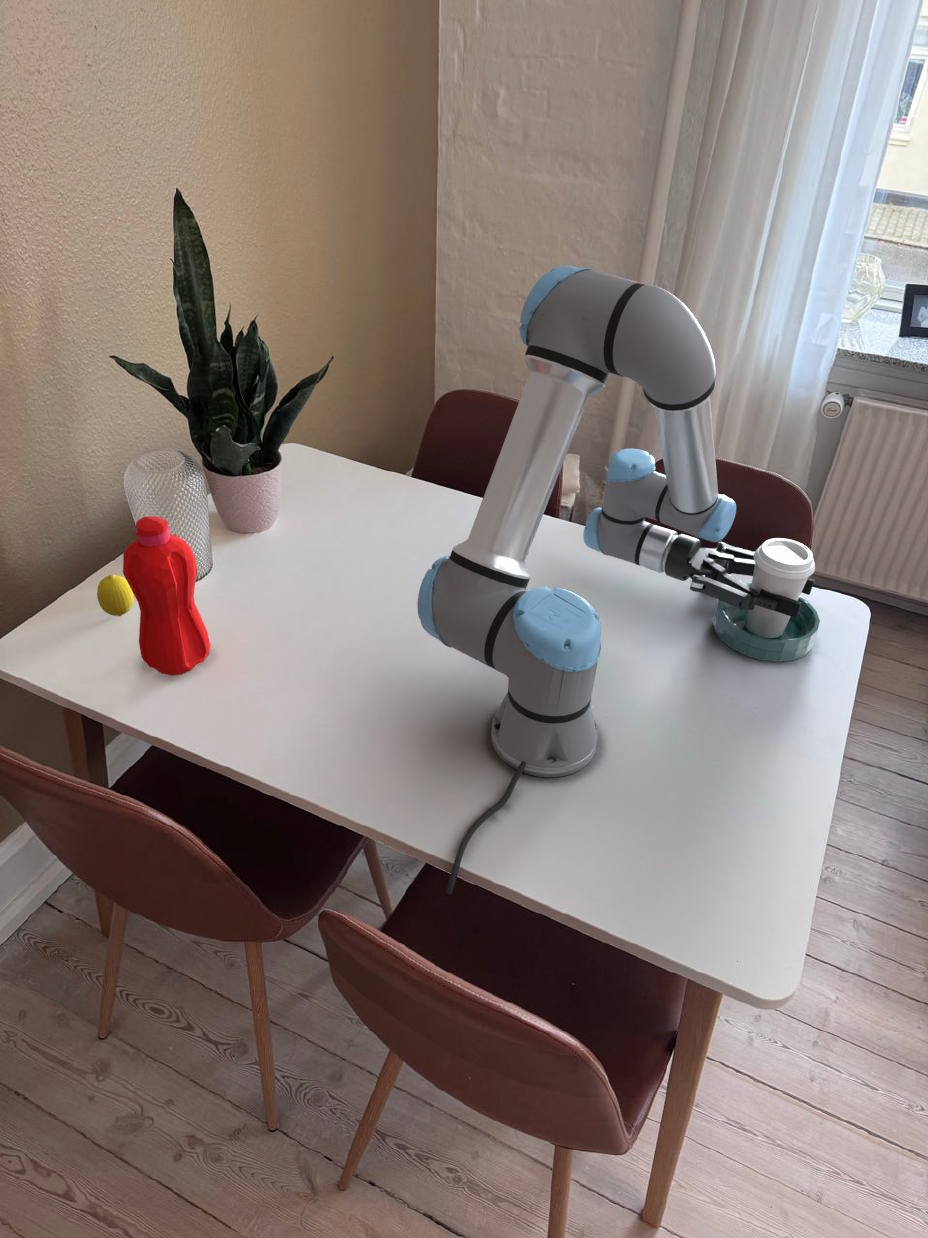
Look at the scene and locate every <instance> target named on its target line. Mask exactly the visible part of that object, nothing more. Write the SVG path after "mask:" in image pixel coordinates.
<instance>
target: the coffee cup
mask: <svg viewBox="0 0 928 1238" xmlns="http://www.w3.org/2000/svg"><path fill="white" fill-rule="evenodd" d="M754 552H755V553H754V561H755V567H754V573H753V576H752V579H751V583H752V584H751V587H752V588H753V589H755V590H757V591H758V594H759V593H760V590H761V589H763V590H765V591H768V592H770V593H773V594H778V595H782V596H785V597H787V598H790V599H793V600H796V601H798V599H799V596H800V597H801V594H802V593H801V592H802V590H803V588H804V585H805V583H806V581H807V579H808V577H809V578H810V576H812V575H813V574H814V573H815V571H816V563H815V560H814V554H813V552H812V551H811V549H810V548H809V547H808V546H807V545H804V544H803V543H801V542H799V541H796V540H793V539H789V538H782V537H775V538H774V537H773V538H770V539H767V540H765V541H764V542H762V544H761V545H760V546H759V547H758V548H757V549H756V550H755V551H754ZM790 617H791V616H788V615H785V614H782V613H779V612H776V611H773V610H769V609H766V608H763V607H760V606H757V605H755V607H754V609H753V610H749V609H747V611H746V617H745V626H746V628H747V629H748V630H749V631H750V632H752V633H753V634H755V635H757V636H760V637H764V638H776V637H779V636H781V635H782V634H783V632H784V630H785V628H786V626H787V623H788V621H789V619H790Z"/></svg>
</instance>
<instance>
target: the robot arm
mask: <svg viewBox="0 0 928 1238" xmlns="http://www.w3.org/2000/svg"><path fill="white" fill-rule="evenodd" d="M523 303H524V304H523V307H522V309H521V313H520V318H519V322H520V324H521V325H520V326H519V336H520V339H521V341H522V343H523V345H524V346H526V347H527V348H526V350H525V353H524V355H523V359H524V362H525V364H526V367H527V369H528V377H527V380H526V382H525V386H524V388H523V390H522V393H521V396H520V399H519V400H518V403H517V406H516V409H515V411H514V414H513V417H512V420H511V422H510V424H509V428H508V431H507V433H506V436H505V439H504V441H503V444H502V446H501V449H500V452H499V454H498V457H497V459H496V462H495V465H494V468H493V471H492V473H491V476H490V478H489V482H488V484H487V486H486V489H485V492H484V494H483V497H482V500H481V503H480V506H479V508H478V511H477V514H476V516H475V517H474V522H473V524H472V526H471V529H470V532H469V535H468V537H467V539H466V540H464V541H462V542H460V543H458V544H456V545H454V546H453V547H452V550H451V552H450V555H446V556H445V555H444V556H442V557H439V558H438V559H437V560H435V561H434V562H433V563H432V564H431V568H428V569H427V571H426V573H425V574H424V576H423V578H422V580H421V583H420V587H419V590H418V595H417V616H418V618H419V620H420V624H421V625H420V626H421V627H422V629H423V630H424V631H425V632H426V633H427V634H428V635H430V636H432V637H433V638H435V639H436V640H438V641H440V643H441V644H442V645H444V646H446V647H447V648H452V649H454V650H456V651H458V652H460V653H462V654H464V655H466V656H468V657H470V658H471V659H474V660H475V661H477V662H479V663H482V664H483V665H485V666H487V667H490V668H492V669H493V670H495V671H497V672H499V673H501V674H503V675H505V676H506V677H507V678H508V682H507V683H508V684H507V692H506V694H505V696H504V697H503V699H502V702H501V703H500V705H499V707H498V709H497V710H496V713H495V715H494V716H493V719H492V723H491V733H490V736H491V737H490V738H491V744H492V747H493V749H494V751H495V753H496V754H497V756H499V758H500V759H501V760H502V761H503V762H504V763H505V764H507V765H508V766H509V767H511V768H512V769H515V772H514V774H513V776H512V778H511V780H510V781H509V784H508V786H507V788H506V790H505V793H504V794H503V796H502V797H501V798H500V799H499V800H498V802H496V803H495V804H493V805H492V806H490V808H488V809H486V810H485V811H484V812H483V813H482V814H481V815H480V816H479V817H478V818H477V819H476V820H475V821H474V822H473V823H472V824H471V825H470V827H469V828H468V830H466V833H465V835H464V836H463V837H462V840H461V842H460V844H459V846H458V848H457V851H456V855H455V857H454V861H453V864H452V869H451V872H450V875H449V878H448V882H447V885H446V889H445V893H446V895H451V894H452V893H453V891H454V887H455V884H456V880H457V877H458V874H459V873H458V872H459V870H460V867H461V862H462V859H463V856H464V854H465V850H466V849H467V846H468V844H469V843H470V840H471V839H472V837H473V835H474V833H475V832H476V831H477V830H478V828H479V827H480V826H481V825H482V824H483V823H484V822H485V821H487V820H488V818H490V816H492V815H493V814H494V813H496V812H497V811H499V810H500V809H502V808H503V807H504V805H505V804H506V803H507V802H508V800H509V799H510V798H511V796H512V793H513V792H514V789H515V787H516V785H517V783H518V782H519V779H520V778H521V776H522V774H527V775H529V776H534V777H540V778H559V777H565V776H568V775H569V776H570V775H573V774H574V773H577V772H578V771H581V770H582V769H583V768H585V767H586V766H587V765H588V764H590V762H591V761H592V759H593V758H594V756H595V755H596V752H597V747H598V741H599V730H598V725H597V724H596V720H595V717H594V712H593V711H594V709H595V705H592V703H591V702H592V698H593V697H592V696H593V690H594V686H595V685H594V684H595V678H596V673H597V667H598V663H599V658H600V655H601V650H602V642H601V641H602V624H601V622H600V619H599V615H598V613H597V611H596V610H595V608H594V607H593V606H592V604H590V603H589V602H588V601H587V600H586V599H585V598H583V597H581V596H580V595H579V594H577V593H575V592H572V590H571V591H570V590H568V589H565V588H561V587H556V586H555V587H554V588H553V589H551V588H549V586H538V587H534V588H531V589H528V590H526V589H527V587H528V585H529V582H530V580H531V577H532V576H531V573H530V571H529V569H528V566H527V563H526V560H527V557H528V555H529V552H530V550H531V547H532V544H533V542H534V539H535V536H536V534H537V531H538V529H539V526H540V524H541V521H542V519H543V516H544V513H545V511H546V508H547V506H548V503H549V500H550V498H551V495H552V494H553V490H554V488H555V486H556V483H557V480H558V477H559V475H560V472H561V470H562V467H563V464H564V462H565V460H566V457H567V455H568V451H569V449H570V446H571V444H572V441H573V439H574V437H575V434H576V431H577V428H578V426H579V424H580V422H581V418H582V416H583V413H584V411H585V408H586V406H587V403H588V400H589V397H590V396H592V395H594V394H596V393H599V392H600V391H602V390H604V389H605V387H606V384H607V383H608V379H609V377H610V376H611V374H613V375H616V376H620V377H625V378H628V379H630V380H632V381H634V382H636V383H637V384H638V385H639V386H641V387H642V392H643V396H644V398H645V399H646V401H647V403H649V404H650V405H651V406H652V407H653V410H654V416H655V421H656V422H655V423H656V429H657V433H658V438H659V444H660V449H661V456H662V461H663V467H664V474H663V473H661V472H658V471H656V459H655V458H654V456H653V455H652V454H649V452H648V451H645V450H643V449H638V448H624V449H619V450H617V451H616V452H614V453H613V454H612V455H611V457H610V458H609V459H610V460H609V464H608V468H607V473H606V475H605V487H604V493H603V501H602V507H599V506H598V507H596V508H593V510H592V511H591V512H590V514H589V515H588V517H587V519H586V522H585V526H584V528H583V535H582V538H583V542H584V545H585V546H586V547H588V549H591V550H594V551H597V552H598V553H601V554H602V555H604V556H609V557H612V558H615V559H619V560H622V561H625V562H629V563H631V564H635V565H636V566H639V567H642V568H646V569H647V570H650V571H654V572H656V573H659V574H662V573H665V575H666V576H667V577H669V578H673V579H676V580H679V581H681V582H686V581H687V580H688V579H691V582H690V586H689V590H690V591H692V592H695V593H699V594H703V595H707V596H709V597H711V598H714V599H716V600H717V601H718V600H720V601H723V602H725V603H728V604H730V605H732V606H735V607H737V608H739V609H742V610H747V609H749V610H753V609H754V607H755V605H757V606H760V607H763V608H766V609H769V610H773V611H776V612H779V613H782V614H785V615H788V616H791V617H794V618H797V616H798V613H799V610H800V607H801V603H802V602H799V601H796V600H793V599H790V598H787V597H785V596H782V595H778V594H773V593H770V592H768V591H765V590H763V589H761V590H760V593H759V594H758V591H757V590H755V589H753V588H752V587H750V586H748V585H747V584H748V583H745V582H743V581H742V580H740V579H738V578H737V577H735V576H733V575H732V574H734V575H741V576H749V577H753V573H754V567H755V561H754V553H755V552H756V551H751V550H748V549H743V548H740V547H735V546H733V545H730V544H728V543H726V542H723V541H722V540H723V539H725V537H726V536H727V535H728V533H729V532H730V530H731V528H732V526H733V523H734V521H735V517H736V514H737V504H736V501H734V500H733V498H730V497H728V496H727V495H725V494H720V493H719V487H718V477H717V475H718V474H717V464H716V452H715V441H714V428H713V419H712V418H713V417H712V405H711V404H712V403H711V396H712V394H713V393H714V391H715V389H716V385H717V370H716V361H715V357H714V354H713V350H712V347H711V345H710V342H709V340H708V337H707V336H706V333H705V331H704V330H703V328H702V326H701V325H700V322H699V321H698V320H697V319H696V317H695V316H694V314H693V313H692V312H691V310H690V309H689V308H688V307H687V306H686V304H685V303H684V302H683V301H681V300H680V299H679V298H678V297H677V296H676V295H674V294H673V293H671V292H670V291H668V290H667V289H664V288H662V287H660V286H657V285H653V284H647V283H642V282H639V281H636V280H631V279H628V278H625V277H622V276H621V277H620V276H617V275H614V274H610V273H606V272H603V271H600V270H597V269H592V268H590V267H576V266H573V265H560V266H556V267H554V268H552V269H550V271H548V272H546V273H544V274H543V275H542V276H541V277H540V278H539V279H538V280H537V281H536V282H535V284H534V285H533V286H532V288H531V290H530V291H529V293H528V295H527V297H526V299H525V301H524V302H523ZM646 518H648V519H650V520H653V521H655V522H658V523H660V524H663V525H665V526H669V527H671V528H672V529H675V530H678V531H681V532H683V533H680V534H678V532H677V531H675V530H672V529H669V528H665V527H662V526H660V525H656V524H653V523H650V522H648V521H645V519H646ZM684 533H686V534H684ZM687 534H688V535H687ZM690 535H691V536H690ZM700 539H702V540H705V541H708V542H711V543H717V546H716V547H715V548H709V547H704V546H702V543H701V540H700ZM815 580H816V579H815V578H812V577H810V576H809V577H808V579H807V581H806V583H805V585H804V588H803V590H802V592H801V594H805V595H808V596H810V595H811V592H812V590H813V586H814V583H815ZM740 600H741V601H742V602H740Z"/></svg>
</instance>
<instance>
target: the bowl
mask: <svg viewBox="0 0 928 1238" xmlns="http://www.w3.org/2000/svg"><path fill="white" fill-rule="evenodd" d="M746 584H747V585H748V586H750V587H751V584H752V582H750V583H746ZM798 601H799V602H802V603H801V607H800V610H799V613H798V616H797V618H794V617H790V619H789V621H788V623H787V626H786V628H785V630H784V632H783V634H782V635H781V636H779V637H776V638H764V637H760V636H757V635H755V634H753V633H752V632H750V631H749V630H748V629H747V628H746V626H745V617H746V611H747V610H742V609H739V608H737V607H735V606H732V605H730V604H728V603H725V602H723V601H720V600H718V599H717V603H716V607H715V611H714V614H713V619H712V624H713V628H714V631H715V634H717V636H718V637H719V639H720V640H721V641H722V642H724V643H725V644H726V645H727V646H729V647H730V648H731V649H732V650H735V651H737V652H738V653H741V654H743V655H745V656H747V657H750V658H754V659H758V660H761V661H769V662H787V661H794V660H796V659H799V658H802V657H804V656H806V655H807V654H808V653H809V652H810V650H812V648H813V646H814V643H815V640H816V638H817V634H818V631H819V628H820V622H821V620H820V617H819V615H818V611H817V610H816V609H815V608H814V607H813V605H812V604H811V603H810V602H809V601H808V600H806V599H805V598H803V597H802V596H801V595H800V596H799V599H798ZM740 602H742V601H741V600H740Z"/></svg>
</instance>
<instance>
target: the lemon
mask: <svg viewBox="0 0 928 1238" xmlns="http://www.w3.org/2000/svg"><path fill="white" fill-rule="evenodd" d="M96 591H97V592H96V598H97V602H98V604H99V607H100V609H102V610H103V611H104V612H105V613H106V614H108V615H109V616H110V615H111V616H115V617H116V616H118V617H121V616H123V615H125V614H127V613H128V612H129V611H130V610H131V609H132V607H133V605H134V600H135V595H134V594H133V592H132V590H131V588H130V586H129V584H128V582H127V580H126V578H125V577H124V576H122V575H118V574H109V575H107V576H105V577H103V578H102V579H101V580H100V581H99V583H98V585H97V590H96Z"/></svg>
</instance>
